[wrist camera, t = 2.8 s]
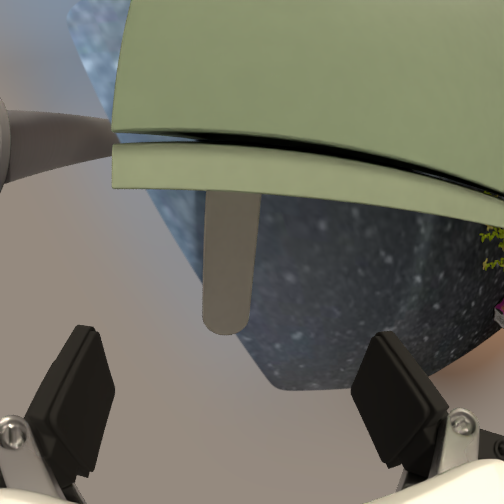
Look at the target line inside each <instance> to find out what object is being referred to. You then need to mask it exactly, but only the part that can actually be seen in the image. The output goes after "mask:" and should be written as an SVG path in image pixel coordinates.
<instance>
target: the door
mask: <svg viewBox="0 0 504 504" xmlns="http://www.w3.org/2000/svg"><path fill="white" fill-rule="evenodd" d="M112 188H113V189H170V190H200V191H206V203H205V224H204V252H203V312H202V313H203V316H202V317H203V322H204V324H205V325H206V327H207V328H208V329H209V330H210V331H212V332H214V333H216V334H219V335H232V334H235V333H238V332H239V331H241V330H242V329H243V328H244V327H245V326H246V325H247V323H248V320H249V313H250V303H251V293H252V283H253V274H254V264H255V254H256V244H257V234H258V224H259V214H260V204H261V194H268V195H281V196H292V197H303V198H313V199H323V200H332V201H341V202H350V203H358V204H366V205H373V206H381V207H388V208H395V209H401V210H408V211H414V212H421V213H427V214H433V215H438V216H444V217H450V218H455V219H460V220H465V221H471V222H476V223H480V224H485V225H490V226H495V227H499V228H504V200H503V199H500V198H498V197H495V196H492V195H489V194H487V193H484V192H481V191H478V190H475V189H472V188H469V187H466V186H463V185H459V184H456V183H453V182H450V181H446V180H443V179H439V178H436V177H432V176H429V175H425V174H421V173H417V172H413V171H409V170H405V169H401V168H397V167H392V166H388V165H383V164H379V163H374V162H369V161H364V160H359V159H353V158H348V157H342V156H336V155H330V154H324V153H317V152H310V151H303V150H295V149H287V148H279V147H269V146H259V145H248V144H235V143H219V142H195V141H175V142H139V143H121V144H113V146H112Z"/></svg>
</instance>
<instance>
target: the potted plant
mask: <svg viewBox="0 0 504 504" xmlns="http://www.w3.org/2000/svg"><path fill="white" fill-rule="evenodd" d="M484 193H486V191H484ZM487 194H489V195H492V194H490V193H489V192H488V193H487ZM497 196H498V195H497ZM497 196H495V197H497ZM486 226H487V231H489V229H493V227H494V230H495V231H496V232H495V231H493V233H492V235H491V236H490V233H489V234H487V233H486V234H487V235H484V234H482V233H481V234H479V235H482V237H481V241H482V243H483V241H484V239H485V238H486V237H487V236H489V240H490V242H491V240H492V239H493V237H494V236H495V235H496V236H497V238H499V237H500V239H501V238H504V229H502V230H501V229H500V228H499V227H497V228H499V230H498V231H499V235H498V234H497V228H496V227H495V226H493V227H492V226H490V225H486ZM483 235H484V236H483ZM487 239H488V237H487ZM498 245H499V247H500V246H501V248H502V247H503V248H502V250H504V240H503V242H500V244H498ZM487 260H488V258H486V261H485V262H483V270H484V268H485V270H487V267H488V266H489V267H490V265H491V266H492V269H493V267H494V266H495V264H497V262H498V264H499V265H500V263H501V265H500V266H501V267H504V262H503V261H504V258H501V259H500V260H501V261H500V262H499V260H495V262H494V263H493V262H491V263H489V264H487V263H486V262H487ZM502 260H503V261H502ZM503 271H504V269H503Z"/></svg>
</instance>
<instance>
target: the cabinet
mask: <svg viewBox="0 0 504 504" xmlns="http://www.w3.org/2000/svg"><path fill="white" fill-rule="evenodd" d="M111 130H112V132H114V133H135V134H149V135H162V136H173V137H182V138H191V139H206V140H225V141H240V142H252V143H263V144H273V145H282V146H290V147H298V148H305V149H312V150H319V151H325V152H332V153H338V154H343V155H349V156H354V157H359V158H365V159H369V160H374V161H379V162H384V163H388V164H393V165H397V166H401V167H405V168H409V169H413V170H417V171H421V172H425V173H429V174H433V175H437V176H440V177H444V178H447V179H451V180H454V181H458V182H461V183H464V184H467V185H471V186H474V187H477V188H480V189H483V190H486V191H489V192H492V193H494V194H497V195H500V196H503V197H504V0H131V3H130V7H129V11H128V15H127V20H126V24H125V29H124V34H123V39H122V44H121V50H120V55H119V62H118V68H117V75H116V83H115V91H114V101H113V112H112V125H111Z"/></svg>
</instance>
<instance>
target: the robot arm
mask: <svg viewBox="0 0 504 504" xmlns="http://www.w3.org/2000/svg"><path fill="white" fill-rule="evenodd" d="M114 395H115V386H114V383H113V379H112V376H111V373H110V370H109V366H108V363H107V359H106V356H105V352H104V348H103V345H102V341H101V337H100V334H99V332H96V331H95V329H94V327H91V326H84V325H77V326H76V327H75V329H74V330H73V332H72V333H71V335H70V337H69V339H68V340H67V342H66V343H65V345H64V347H63V348H62V350H61V352H60V353H59V355H58V357H57V359H56V360H55V361H54V362H53V363H52V365H51V367H50V368H49V370H48V372H47V374H46V376H45V377H44V379H43V381H42V383H41V385H40V387H39V389H38V391H37V392H36V395H35V397H34V399H33V401H32V403H31V404H30V406H29V408H28V411H27V413H26V415H25V417H24V419H23V418H22V417H20V416H16V415H8V416H5V417H3V418H1V419H0V504H86V502H85V500H84V498H83V497H82V495H81V493H80V492H79V490H78V488H77V486H76V485H75V480H76V476H77V475H80V476H83V477H86V478H88V476H89V472H93V471H94V469H95V465H96V461H97V457H98V452H99V449H100V445H101V441H102V437H103V434H104V430H105V426H106V423H107V419H108V416H109V412H110V409H111V405H112V402H113V399H114ZM351 395H352V397H353V400H354V402H355V404H356V406H357V408H358V410H359V413H360V415H361V417H362V419H363V421H364V423H365V426H366V428H367V430H368V432H369V434H370V437H371V439H372V441H373V443H374V445H375V448H376V450H377V452H378V454H379V457H380V458H381V461H382V462H383V463H386V465H387V467H388V469H389V468H392V467H395V466H398V465H400V464H401V463H402V465H403V467H404V469H403V472H402V476H401V478H400V481H399V484H398V487H397V489H396V492H395V493H393V494H390V495H388V496H385V497H382V498H379V499H376V500H373V501H370V502H367V503H364V504H504V436H502V435H499V434H496V433H492V432H489V431H486V430H483V429H480V426H479V421H478V419H477V417H476V416H475V415H474V414H473V413H472V412H470V411H469V410H467V409H464V408H455V409H453V410H452V411H451V412H450V413H449V414H448V413H447V409H448V408H449V406H448V404H447V403H446V401H445V400H444V398H443V397H442V396H441V394H440V393H439V391H438V390H437V389H436V387H435V386H434V385H433V383H432V382H431V380H430V379H429V378H428V376H427V375H426V374H425V372H424V371H423V370H422V368H421V367H420V366H419V364H418V363H417V362H416V360H415V359H414V358H413V356H412V355H411V354H410V353H409V351H408V350H407V349H406V347H405V346H404V345H403V344H402V342H401V341H400V340H399V338H398V337H397V336H396V335H395V333H394V332H393V331H384V332H377V333H376V334H375V336H374V337H372V338H371V340H370V343H369V346H368V348H367V351H366V353H365V356H364V358H363V361H362V363H361V365H360V368H359V370H358V373H357V375H356V377H355V379H354V382H353V384H352V386H351Z"/></svg>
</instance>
